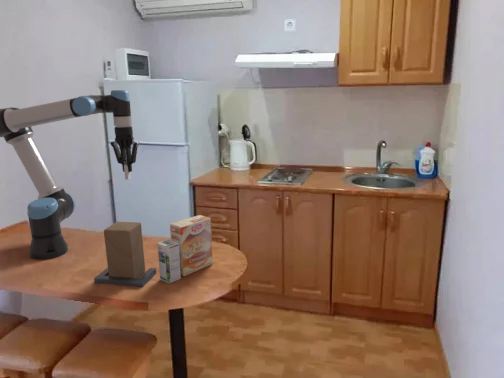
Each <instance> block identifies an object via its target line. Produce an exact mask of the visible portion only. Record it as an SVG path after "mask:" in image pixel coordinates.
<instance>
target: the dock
mask: <svg viewBox="0 0 504 378" xmlns="http://www.w3.org/2000/svg"><path fill="white" fill-rule="evenodd" d="M156 274H157V269H156V268H154V267H149V268H148V269H147V270H145V272H144V273H143V274H142V275H141V276H140V277H139V278H127V277H114V276H109V273H108V267H107V268H105V269H104V270H102V271H101V272H100V273H99V274H98V275H96V276H95V277H94V278H93V280H94V281H93V282H94V284H99V285H109V286H110V285H112V286H126V287H137V288H144V287H145V285H146V284H147V283H148V282H149V281H150V280H151V279H152V278H153V277H154V276H155V275H156Z"/></svg>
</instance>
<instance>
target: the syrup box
mask: <svg viewBox="0 0 504 378" xmlns="http://www.w3.org/2000/svg"><path fill="white" fill-rule="evenodd" d="M157 255H158V266H159V267H158V269H159V271H158V272H159V280H160V281H162V282H164V283H166V284H168V285H169V284H172V283H174V282H177V281H179V280H180V279H182V277H181V276H182V275H181V274H180V257H179V243H178V242H175V241H172V240H171V238H170V239H165V240H162V241H160V242H157Z"/></svg>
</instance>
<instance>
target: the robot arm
mask: <svg viewBox="0 0 504 378" xmlns="http://www.w3.org/2000/svg"><path fill="white" fill-rule="evenodd" d="M106 113H107V114H110V113H111V114H112V119H113V126H114V135H115V137H114V141H112V142H110V146H111V147H112V149H113V152H114V155H115V158H116V161H117V163H118V164H120V165H121V167H122V172H124V178H125V179H124V180H131V179H132V173H131V172H133V166H132V165H133V164H135V163H136V162H137V153H138V147H139V146H140V145H139V144H140V142H139V141H136V140H135V138H134V132H133V126H132V125H133V121H132V110H131V99H130V93H129V91H128V90H126V89H121V90H120V89H118V90H117V89H115V90H110V94H107V95H106V94H104V95H100V94H98V95H97V94H96V95H93V94H90V95H89V94H88V95H80V96H78V97H74V98H68V99H64V100H63V99H62V100H59V101H53V102H48V103H44V104H43V103H42V104H39V105H34V106H28V107H23V108H19V107H6V108H0V138H3V139H4V140H5V143H6V144H9V145H12V147H13V149H14V150H15V151H14V152H16V154H17V157H18V158H19V160H20V162H21V163H22V165H23V167H24V169H25V171H26V173H27V174H28V176H29V178H30V180H31V182H32V184H33V186H34V187H35V189H36V191H37V193H38V196H37V199H34V200H33V201H30V202H29V204H27V208H26V209H27V217H28V223H29V230H30V234H31V240H30V241H31V242H30V247H29V251H28V252H29V257H30V258H31V259H33V260H48V259H54V258H57V257H61V256H63V255H65V254H66V253H67V252H68V250H69V247H68V243H67V242H66V240H65V238H64V236H63V234H62V228H61V223H62V222H63V221H65V220H66V219H68V218H69V217H70V216H72V214H73V213H74V211H75V208H76V200H75V199H74V197H73V196H72V195H71V194H70V193H68V192H66V191H65V188H64V187H63V186H59V185H58V183H57V181H56V179H55V178H54V176H53V174H52V172H51V170H50V168H49V167H48V164H47V162H46V161H45V159H44V157H43V156H42V154H41V151H40V149H39V148H38V146H37V145H36V142H35V140H34V138H33V136H34V133H35V132H34V130H33V128H32V127H35V126H41V125H45V124H51V123H55V122H60V121H64V120H65V121H66V120H69V119H74V118H81V117H87V116H90V115H95V114H96V115H97V114H106Z"/></svg>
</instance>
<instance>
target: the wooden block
mask: <svg viewBox="0 0 504 378" xmlns="http://www.w3.org/2000/svg"><path fill="white" fill-rule="evenodd" d="M142 231H143V230H142V223H141V222H131V221H116V222H114V223H113V224H111V225H110V226H108V227H106V228H104V230H103V235H104V245H105V246H104V247H105V256H106V262H107V268H108V273H109V276H114V277H127V278H140V277H141V276H142V275H143V274H144V273H145V272H146V264H145V254H144V253H145V251H144V242H143V241H144V240H143V233H142Z"/></svg>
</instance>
